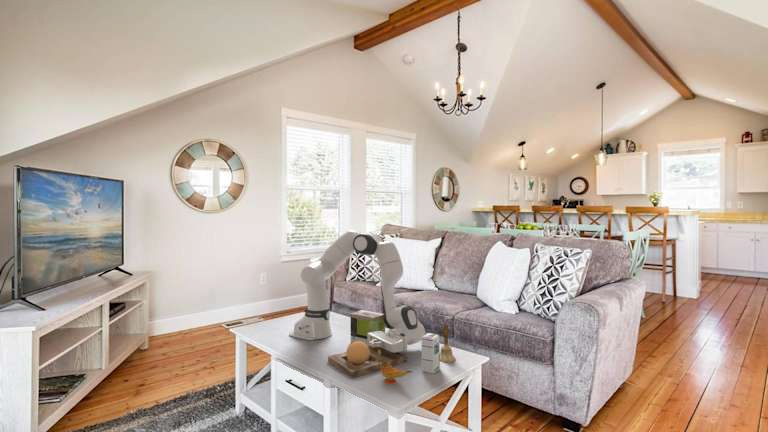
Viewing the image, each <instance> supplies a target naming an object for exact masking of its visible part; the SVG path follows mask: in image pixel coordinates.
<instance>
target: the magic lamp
mask: <svg viewBox="0 0 768 432" xmlns="http://www.w3.org/2000/svg"><path fill="white" fill-rule="evenodd" d="M378 353H379V354H378V356H379V357H380V354H381V351H380V350H379V349H378ZM378 356H377V358H378ZM380 360H381V358H380ZM377 362H378V360H377ZM378 363H379V362H378ZM381 363H382V361H381ZM379 364H380V363H379ZM382 364H383V363H382ZM383 365H384V364H383ZM380 366H381V364H380ZM384 366H386V367H385V368H383V367H382V366H381V367H382V368H383V369H381V370H380V372H381V374H382V376H383V377H384V378H386V379H384V380H383V383H384V384H387V385H394V384H396V383H397V382H398V381H397V379H398V378H400V377H404V376H405V375H407V374H409V373H410V374H411V373H413V371H412V370H405V371H404V370H403V371H401V370H399V368H397V367H394V366H391V365H390V363H389V362H388V364H386V365H384Z"/></svg>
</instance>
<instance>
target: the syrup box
mask: <svg viewBox="0 0 768 432" xmlns="http://www.w3.org/2000/svg"><path fill="white" fill-rule="evenodd" d="M420 343H421V371H422V372H425V373H430V374H435V373H436V372H438V370H440V369H441V368H440V367H441V365H440V362H441V361H440V352H441V349H440V335H439V334H437V333H436V334H435V333H431V332H430V333H429V332H428V333H425V335H424V336H422V337H421V341H420Z"/></svg>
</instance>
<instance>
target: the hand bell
mask: <svg viewBox="0 0 768 432" xmlns="http://www.w3.org/2000/svg"><path fill="white" fill-rule="evenodd" d="M442 333H443V337H444V340H443V341H444V342H443V343H444V344H443V345H441V347H440V362H442V363H453V362H455V361H457V359H456V357H455V355H454V354H453V351H452V350H453V349H452V347H451V345H449V334H450V330H449V326H448V323H446V322H444V325H443V327H442Z"/></svg>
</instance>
